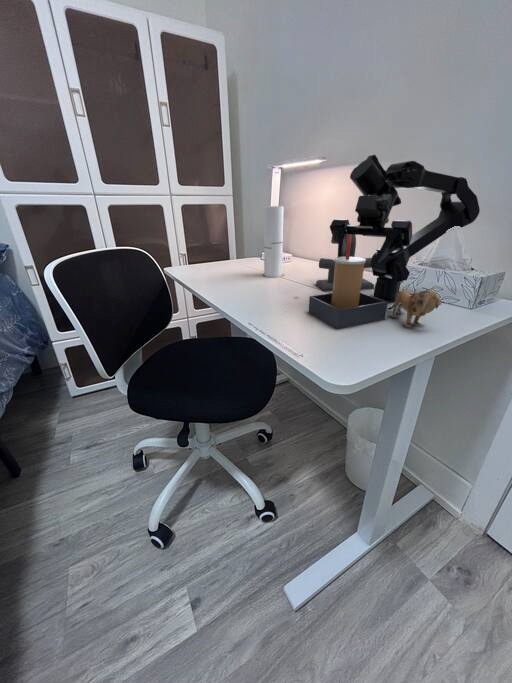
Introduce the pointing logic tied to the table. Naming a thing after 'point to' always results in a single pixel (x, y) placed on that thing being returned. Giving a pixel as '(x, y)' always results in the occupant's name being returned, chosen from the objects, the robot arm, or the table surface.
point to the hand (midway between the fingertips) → (356, 260)
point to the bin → (347, 310)
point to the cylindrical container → (273, 240)
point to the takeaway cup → (347, 280)
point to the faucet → (330, 264)
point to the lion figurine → (415, 304)
